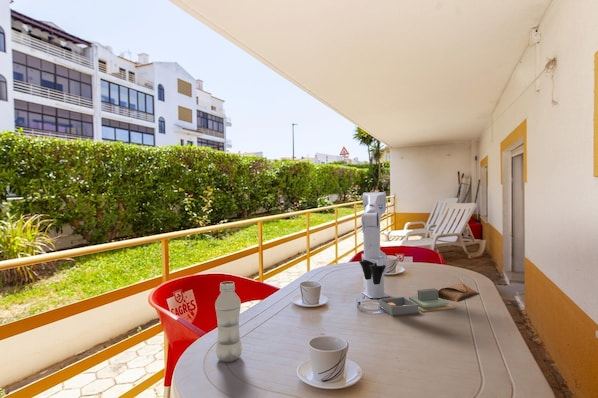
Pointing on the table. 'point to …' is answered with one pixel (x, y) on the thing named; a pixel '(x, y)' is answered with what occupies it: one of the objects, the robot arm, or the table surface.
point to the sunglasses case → (456, 292)
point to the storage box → (398, 306)
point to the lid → (428, 298)
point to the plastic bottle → (228, 323)
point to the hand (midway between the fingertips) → (372, 281)
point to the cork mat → (435, 308)
